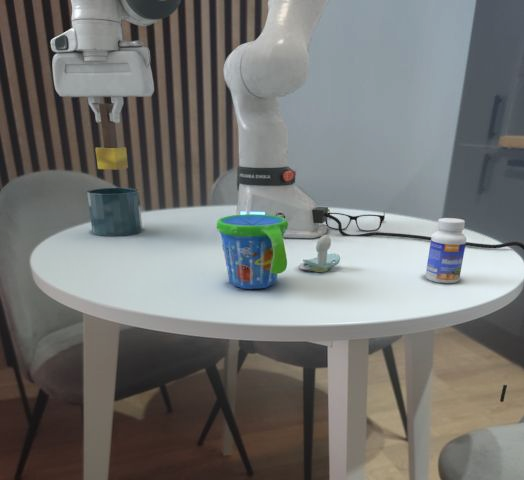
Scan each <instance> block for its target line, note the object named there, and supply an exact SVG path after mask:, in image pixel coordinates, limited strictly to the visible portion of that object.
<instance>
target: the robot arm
mask: <svg viewBox="0 0 524 480" xmlns="http://www.w3.org/2000/svg"><path fill="white" fill-rule="evenodd" d="M181 2H182V0H70V4H71V8H72V9H71V26H72V27H71V28H69V29H67V30H65V32H62V33H61V34H59V35H57V36H55V37H53V38H52V39H51V40H50V48H51V51H52V52H54V53H55V54H54V55H53V57H52V61H51V62H52V65H51V66H52V78H53V85H54V89H55V91H56V93H57V94H58V95H59V97H63V98H87V103H88V106H89V107H90V108H91V110H92V111H93V113H94V117H95V122H96V123H98V124H101V116H100V108H99V104H101V98H110V100H111V101H110V102H111V104H113V109H112V113H108V116H109V122H110V123H115V124H120V123H121V117H120V114H121V112H122V109H123V107H124V105H125V104H124V103H125V102H124V98H132V97H133V98H147V97H148V98H151V97H153V94H154V92H155V85H154V84H155V83H154V77H153V71H152V68H151V67H152V66H151V52H150V49H149V47H148V46H147V45H146V44H145V43H144V42H143V41H142V40H124V37H123V29H122V28H123V26H122V21H123V22H126V23H129V24H133V25H136V26H138V27H139V26H140V27H147V26H151V25H153V24H155V23H157V22H159V21H160V20H161V19H165V18H168V17H170V16H171V15H172V14H174V13H175V12H176V11H177V9H178V8H179V6H180V4H181ZM329 2H330V0H268V1H267V10H268V12H267V16H266V20H265V24H264V27H263V29H262V31H261V33H260V35H259V36H258V37H257V38H256V39H255V40H252V41H247V42H244V43H242V44H240V45H238V46H236V48H235V49H233V50H232V51H231V52H230V53H229V55H228V56H227V57H226V60H225V62H224V65H223V78H224V82H225V84H226V87H227V88H228V89H229V92H230V94H231V100H232V103H233V104H232V105H233V109H234V113H235V119H236V125H237V133H238V135H237V136H238V137H237V138H238V140H237V141H238V165H237V167H236V189H237V192H238V193H237V204H236V212H235V215H243V214H262V215H273V216H279V217H283V218H285V219H286V220H287V222H288V227H287V229H286V231H285V233H284V235H283V238H288V239H289V238H290V239H315V238H320V237H322V236H323V235H326V233H328V227H327V225H326V222H325V221H327V222H328V219H329V218H330V219H329V220H333V221H334V222H335V223H336V224H337V225H338V227H337V228H338V229H339V230H338V232H339V234H340V235H342V236H343V237H373V236H374V237H375V236H376V237H379V236H380V237H393V238H407V239H414V240H415V239H417V240H424V241H430V242H431V237H432V236H426V235H419V234H408V233H397V232H383V231H381V232H380V231H370V232H364V233H359V234H350V233H347V232H345V231H344V230H342V229H343V227H342V221H340V220H339V218H337V217H336V216H334V215H333V214H330V215H329V214H328V213H329V211H328V209H329V206H317V204H316V202H315V201H314V200H313V199H312V198H311V197H309V196H308V195H307V194H306V193H305V192H304V191H303V190H302V189H300V187H299V186H297V185H296V184H295V183H296V176H297V174H296V173H297V169H292V168H291V167H289V166H288V155H289V154H288V153H289V152H288V151H289V150H288V149H289V130H288V126H287V125H286V123H285V121H284V119H283V117H282V112H281V109H280V104H279V99H278V98H284V97H287V96H289V95H291V94H293V93H294V92H296V91H299V90H300V88H302V87H303V86H304V84H305V83H306V82H307V80H308V78H309V74H310V71H311V59H310V55H309V51H310V46H311V43H312V38H313V35H314V33H315V31H316V29H317V26H318V24H319V22H320V20H321V18H322V16H323V14H324V12H325V10H326V8H327V6H328V4H329ZM511 246H517V247H520V248H521V249H522V250H524V243H522V242H519V241H509V242H505V243H504V242H503V243H499V244H490V243H489V244H488V243H477V242H469V241H466V245H465V247H473V248H481V249H482V248H483V249H503V248H507V247H511ZM507 387H508V384H503V386H502V389H501V395H500V399H499V402H500V403H504V401H505V396H506V392H507Z"/></svg>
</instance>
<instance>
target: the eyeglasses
mask: <svg viewBox="0 0 524 480" xmlns="http://www.w3.org/2000/svg"><path fill="white" fill-rule="evenodd" d="M328 214H329V215H339V216H340V215H341V216H346V217H348V218H349V221H348V223H347V226H345V228H342V231H345V230H347V229H348V227H349V226H350V224H351V221H354V222H355V224H356V227H357V229H358V230H359V231H360V232H364V233H371V232H378V230H380V229H381V227H382V224H383V222H384V221H385V217H386V215H385V214H386V211H383V215H381V214H359V215H350V214H345V213H340V212H331V211H330V209H329V208H328ZM361 217H378V218H379V225H378V227H377V228H375V229H370V230H365V229H361V228H360V227H359V225H358V218H361ZM328 219H329V220H331V219H330V218H328ZM324 223H325V225H326V226H327V229H332V230H335V231H339V228H335V227H332V226H329V223H328V220H327V221H325V222H324Z"/></svg>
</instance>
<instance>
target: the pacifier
mask: <svg viewBox="0 0 524 480" xmlns="http://www.w3.org/2000/svg"><path fill="white" fill-rule="evenodd" d="M330 237H331V236H329V235H328V234H324V235H322V236H320V237H319V238H318V240H317V242H316V244H315V245H316V246H315V250H316V252H317V257H313V258H309V259H302V262H301V263H299V265H298V268H299V269H300V270H304V271H312V272H316V273H323V272H324V273H325V272H327V271H329V270H330V268H333V267H335V266H337V265H338V264H339V263H340V262H341V256H340V254H337V253H328V250H329V249H330V248H331V245H332V239H331V238H330Z"/></svg>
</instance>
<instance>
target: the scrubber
mask: <svg viewBox="0 0 524 480" xmlns="http://www.w3.org/2000/svg"><path fill="white" fill-rule="evenodd" d="M98 105H99V108H100V116H101V123H100V124H101V125H100V126H101V134H102V140H103V146H102V147H95V156H96V164H97V170H110V171H111V170H112V171H113V170H114V171H117V170H125V169H128V168H129V163H128V153H127V147H126V146H125V147H124V146H118V141H117V132H116V131H117V130H116V123H110V122H109V116H108V113H112V109H113V106H114V103H98Z"/></svg>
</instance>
